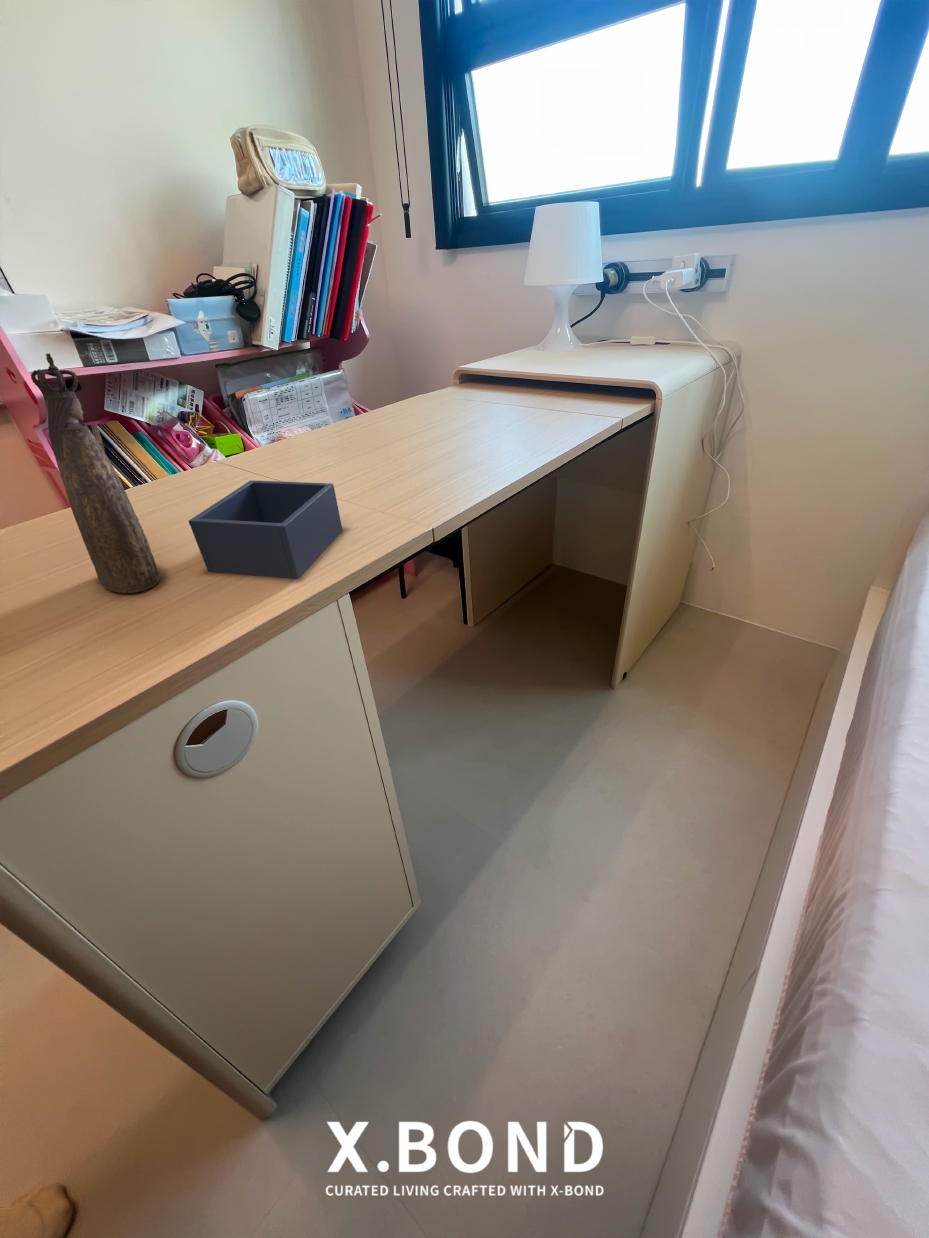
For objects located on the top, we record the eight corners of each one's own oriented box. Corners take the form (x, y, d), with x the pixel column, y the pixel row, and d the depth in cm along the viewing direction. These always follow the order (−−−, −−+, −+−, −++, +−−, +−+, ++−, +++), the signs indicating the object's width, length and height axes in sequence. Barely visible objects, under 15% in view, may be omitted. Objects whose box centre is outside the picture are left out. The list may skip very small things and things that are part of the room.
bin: (207, 571, 64) (187, 520, 60) (263, 526, 75) (250, 480, 71) (298, 579, 61) (284, 526, 57) (342, 530, 72) (333, 483, 68)
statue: (180, 564, 66) (90, 349, 51) (148, 595, 60) (35, 361, 45) (116, 565, 66) (9, 353, 52) (78, 596, 60) (-55, 365, 46)
